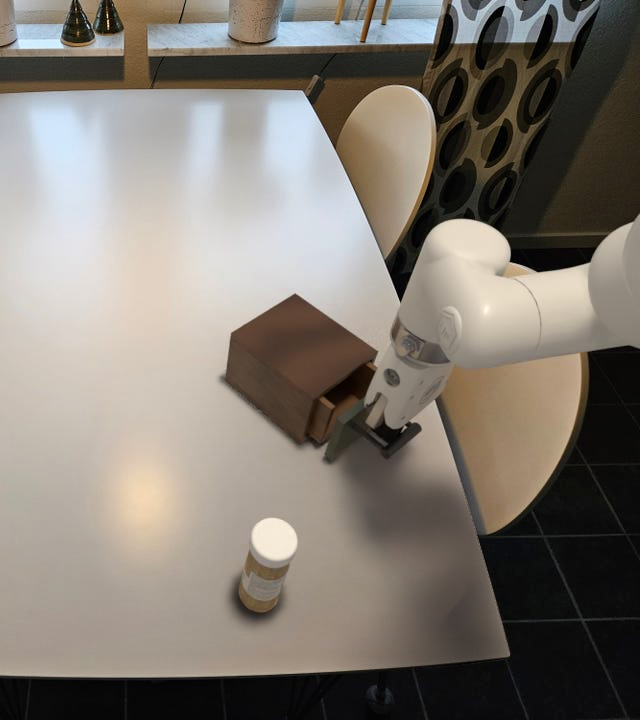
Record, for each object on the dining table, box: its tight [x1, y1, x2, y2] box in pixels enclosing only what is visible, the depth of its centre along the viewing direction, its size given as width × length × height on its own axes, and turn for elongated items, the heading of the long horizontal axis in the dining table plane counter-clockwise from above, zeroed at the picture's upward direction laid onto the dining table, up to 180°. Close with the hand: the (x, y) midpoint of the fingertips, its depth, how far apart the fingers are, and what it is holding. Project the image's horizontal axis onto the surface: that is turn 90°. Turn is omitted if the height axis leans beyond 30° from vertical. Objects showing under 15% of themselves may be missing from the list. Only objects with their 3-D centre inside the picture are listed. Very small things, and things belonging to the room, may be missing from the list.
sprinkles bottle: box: [238, 517, 299, 613], centre depth 67 cm, size 5×5×14 cm
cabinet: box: [224, 293, 379, 445], centre depth 88 cm, size 15×13×10 cm
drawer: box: [307, 362, 423, 461], centre depth 84 cm, size 19×11×8 cm, turn 40°
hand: (383, 433), depth 81 cm, fingers closed
